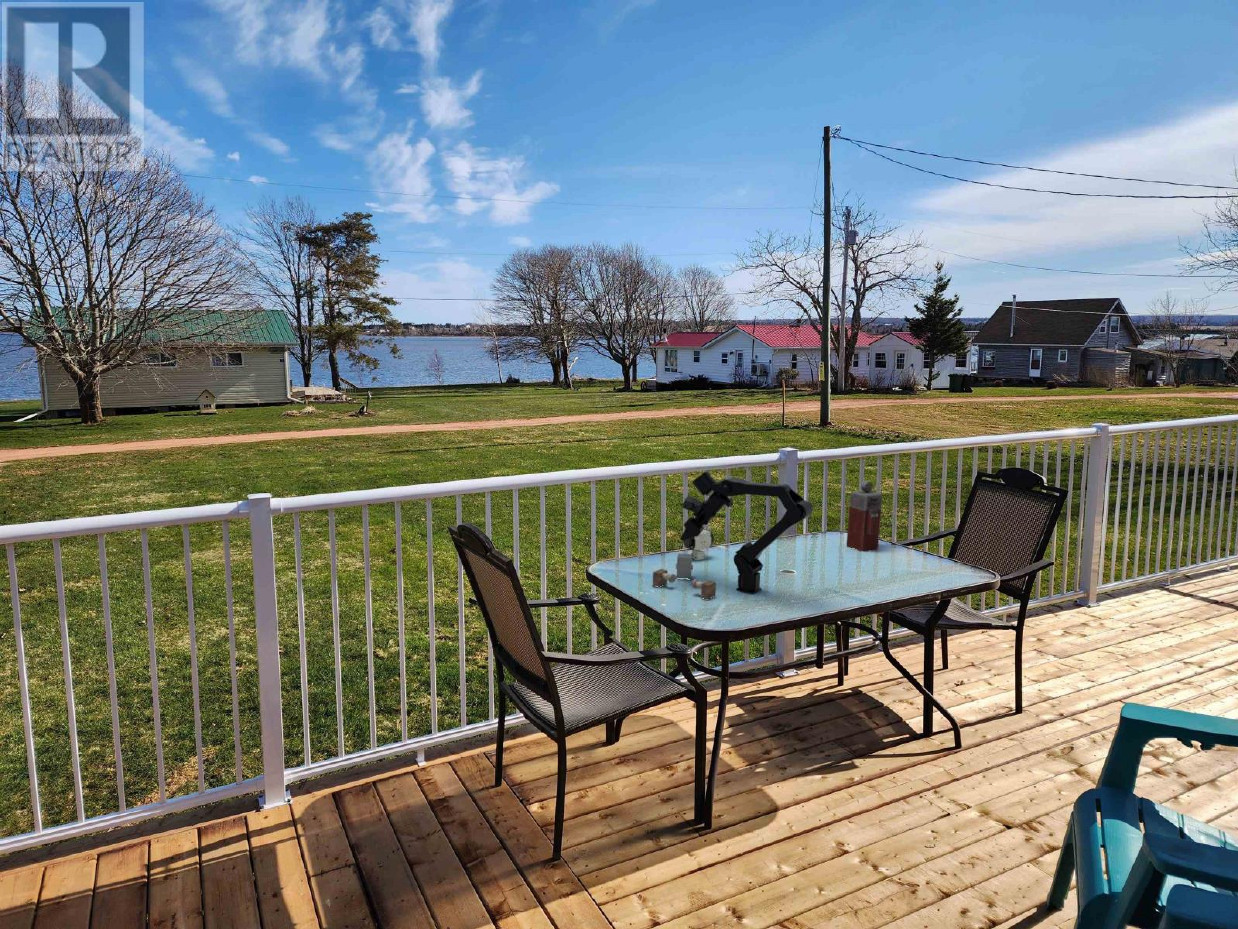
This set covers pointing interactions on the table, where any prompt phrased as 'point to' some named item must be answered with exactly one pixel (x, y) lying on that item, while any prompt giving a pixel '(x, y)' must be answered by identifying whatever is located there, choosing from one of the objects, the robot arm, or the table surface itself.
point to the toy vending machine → (864, 518)
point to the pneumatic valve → (699, 544)
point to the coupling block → (684, 565)
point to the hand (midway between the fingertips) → (685, 534)
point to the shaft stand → (706, 588)
